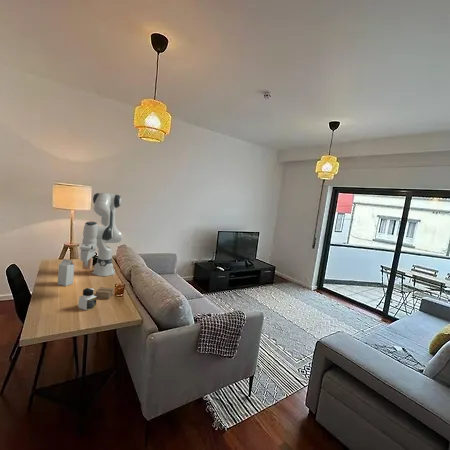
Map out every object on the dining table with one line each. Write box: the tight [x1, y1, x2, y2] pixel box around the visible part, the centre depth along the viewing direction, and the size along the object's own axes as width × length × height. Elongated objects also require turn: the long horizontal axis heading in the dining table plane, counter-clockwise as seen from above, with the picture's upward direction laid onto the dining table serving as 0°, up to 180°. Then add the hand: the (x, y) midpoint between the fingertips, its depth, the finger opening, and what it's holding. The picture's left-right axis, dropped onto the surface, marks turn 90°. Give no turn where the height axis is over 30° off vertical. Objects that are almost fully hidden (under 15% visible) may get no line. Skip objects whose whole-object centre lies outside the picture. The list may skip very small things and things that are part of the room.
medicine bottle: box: [77, 287, 98, 311], centre depth 162 cm, size 7×7×12 cm
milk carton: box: [57, 258, 75, 287], centre depth 194 cm, size 7×7×19 cm
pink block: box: [82, 257, 94, 270], centre depth 180 cm, size 5×5×8 cm
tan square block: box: [95, 286, 115, 300], centre depth 182 cm, size 9×9×5 cm
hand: (87, 264), depth 180 cm, fingers closed on pink block, 5 cm apart
